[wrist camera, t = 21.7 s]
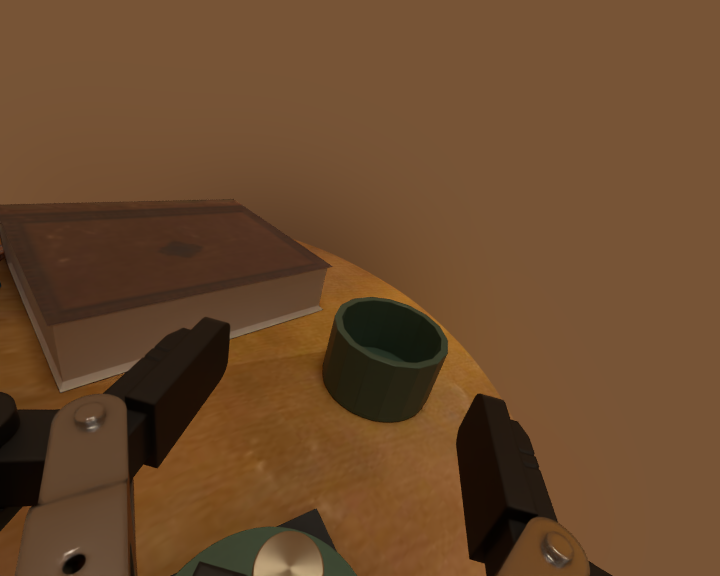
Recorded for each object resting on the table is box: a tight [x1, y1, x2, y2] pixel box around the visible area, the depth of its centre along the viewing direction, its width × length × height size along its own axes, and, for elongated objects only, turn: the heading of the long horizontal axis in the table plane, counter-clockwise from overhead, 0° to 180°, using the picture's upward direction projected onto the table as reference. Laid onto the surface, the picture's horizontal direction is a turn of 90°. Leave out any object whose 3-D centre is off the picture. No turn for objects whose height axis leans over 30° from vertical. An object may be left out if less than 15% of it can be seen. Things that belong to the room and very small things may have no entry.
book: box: [0, 199, 333, 392], centre depth 44 cm, size 24×28×7 cm
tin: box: [323, 297, 448, 422], centre depth 38 cm, size 11×11×7 cm
